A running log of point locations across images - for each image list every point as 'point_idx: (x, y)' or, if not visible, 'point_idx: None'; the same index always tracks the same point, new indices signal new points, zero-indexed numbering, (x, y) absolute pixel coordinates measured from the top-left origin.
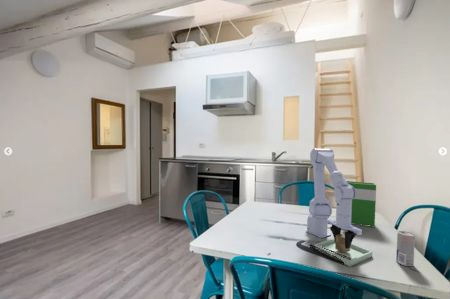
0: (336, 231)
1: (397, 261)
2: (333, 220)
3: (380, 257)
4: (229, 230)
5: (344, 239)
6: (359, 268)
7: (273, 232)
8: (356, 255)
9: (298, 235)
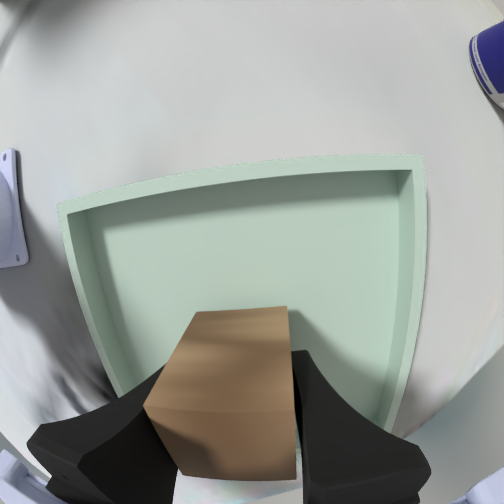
0: (161, 494)
1: (494, 97)
2: (8, 502)
3: (422, 105)
4: None
5: (294, 471)
6: (417, 383)
7: (11, 395)
8: (346, 290)
9: (13, 343)
